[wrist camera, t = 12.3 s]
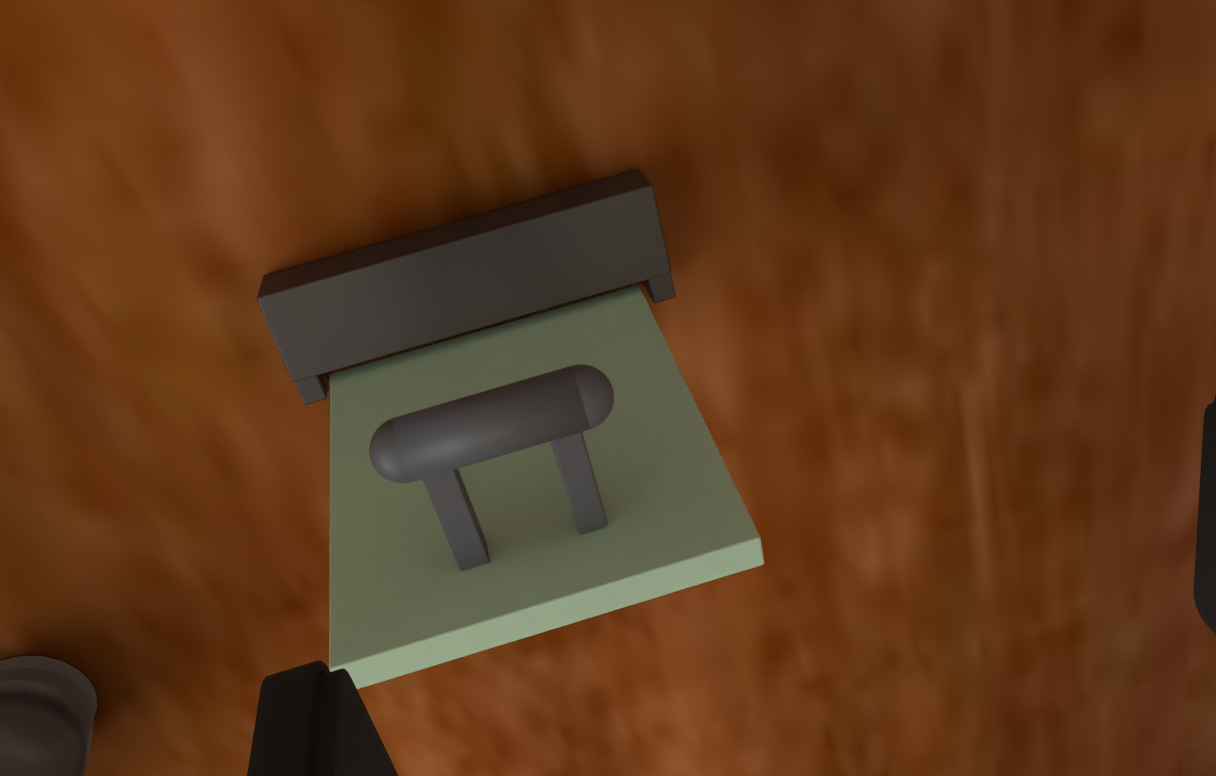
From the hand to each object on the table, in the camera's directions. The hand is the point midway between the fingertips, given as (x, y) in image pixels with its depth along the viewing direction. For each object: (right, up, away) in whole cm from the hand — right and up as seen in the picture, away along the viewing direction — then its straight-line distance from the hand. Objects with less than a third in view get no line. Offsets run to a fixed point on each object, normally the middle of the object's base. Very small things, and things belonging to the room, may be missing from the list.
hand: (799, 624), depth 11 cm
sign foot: (-7, +6, +25) cm, 27 cm away
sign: (-5, 0, +20) cm, 21 cm away
